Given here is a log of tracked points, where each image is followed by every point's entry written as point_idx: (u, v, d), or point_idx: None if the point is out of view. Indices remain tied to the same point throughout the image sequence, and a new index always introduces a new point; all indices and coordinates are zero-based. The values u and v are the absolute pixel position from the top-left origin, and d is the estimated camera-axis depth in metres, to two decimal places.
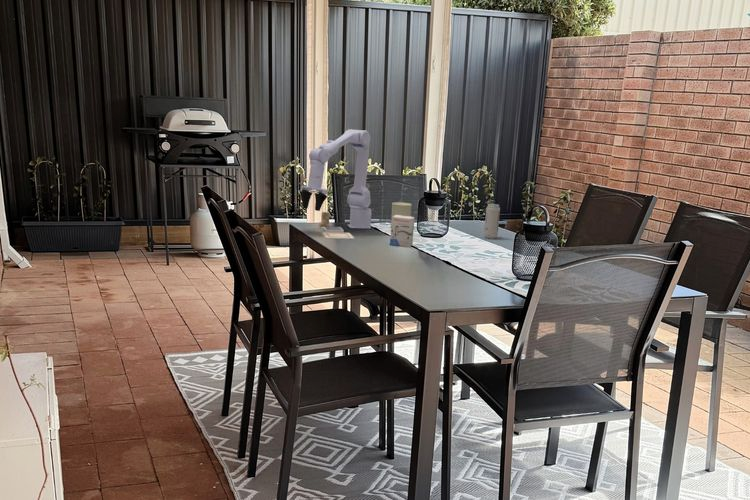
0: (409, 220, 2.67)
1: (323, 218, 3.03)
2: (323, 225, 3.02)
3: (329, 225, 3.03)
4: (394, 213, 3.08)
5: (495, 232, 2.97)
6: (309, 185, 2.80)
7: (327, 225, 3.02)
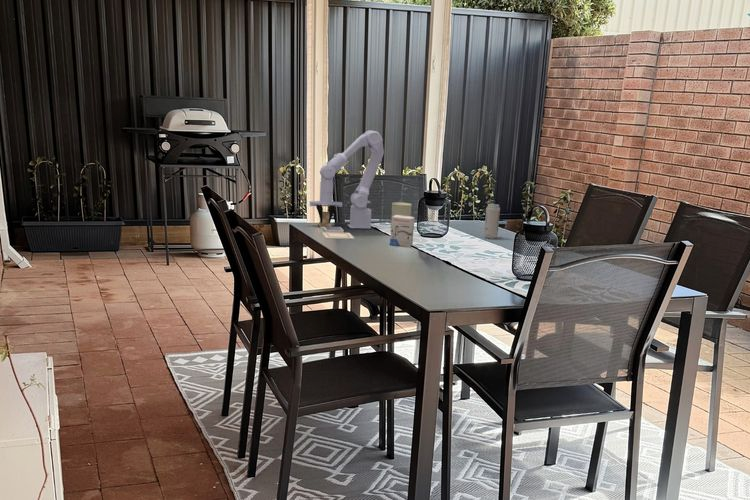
0: (409, 220, 2.67)
1: (323, 218, 3.03)
2: (323, 225, 3.02)
3: (329, 225, 3.03)
4: (394, 213, 3.08)
5: (495, 232, 2.97)
6: None
7: (327, 225, 3.02)
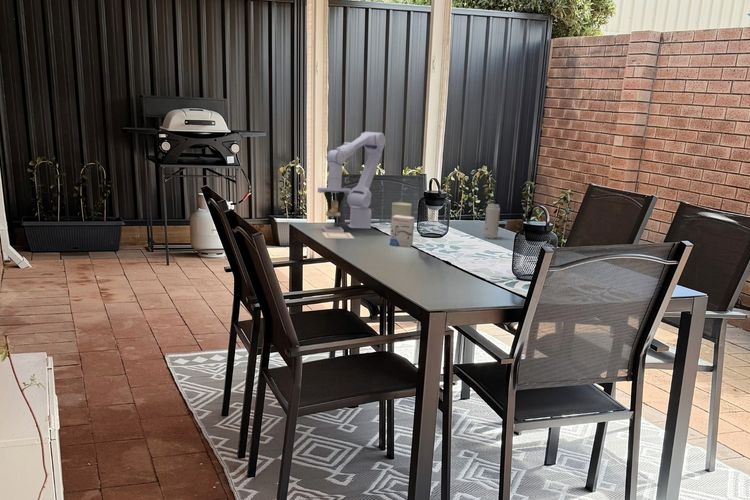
0: (409, 220, 2.67)
1: (332, 207, 2.93)
2: (332, 214, 2.92)
3: (338, 214, 2.93)
4: (394, 213, 3.08)
5: (495, 232, 2.97)
6: None
7: (336, 214, 2.93)
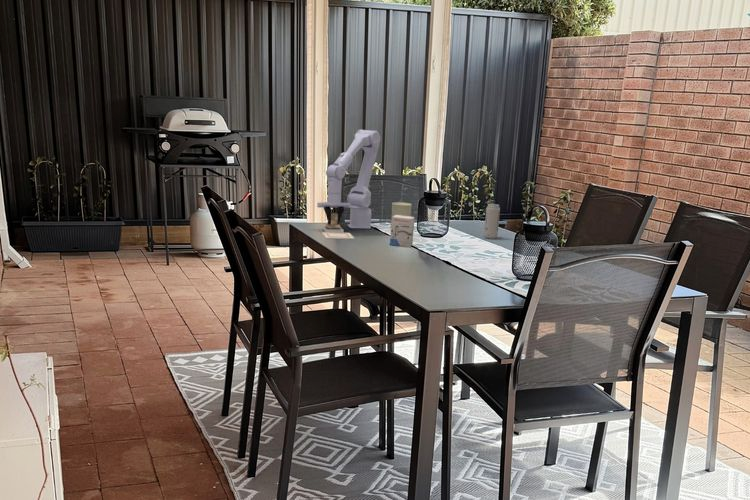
0: (409, 220, 2.67)
1: (331, 219, 2.93)
2: (332, 226, 2.93)
3: (338, 226, 2.94)
4: (394, 213, 3.08)
5: (495, 232, 2.97)
6: None
7: (336, 226, 2.94)
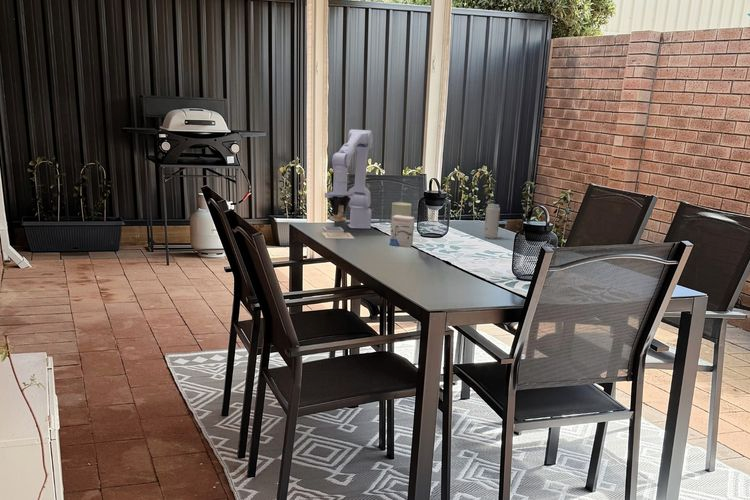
0: (409, 220, 2.67)
1: (338, 211, 2.80)
2: (339, 219, 2.80)
3: (344, 218, 2.82)
4: (394, 213, 3.08)
5: (495, 232, 2.97)
6: None
7: (343, 219, 2.81)
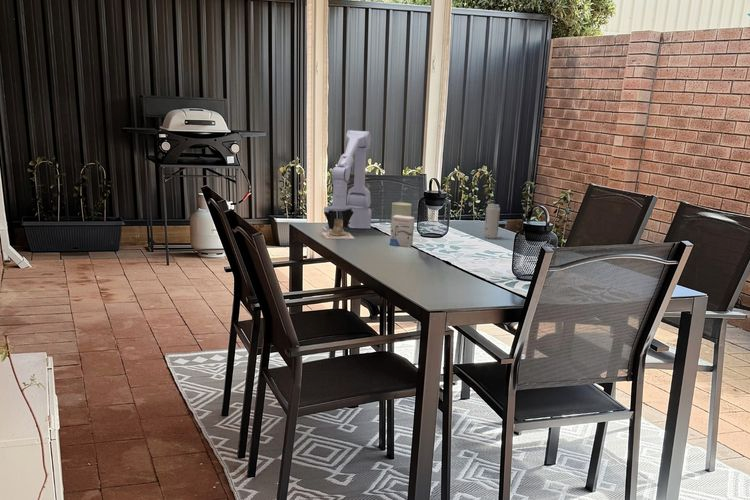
0: (409, 220, 2.67)
1: (337, 226, 2.82)
2: (339, 233, 2.81)
3: (344, 233, 2.83)
4: (394, 213, 3.08)
5: (495, 232, 2.97)
6: None
7: (342, 233, 2.83)
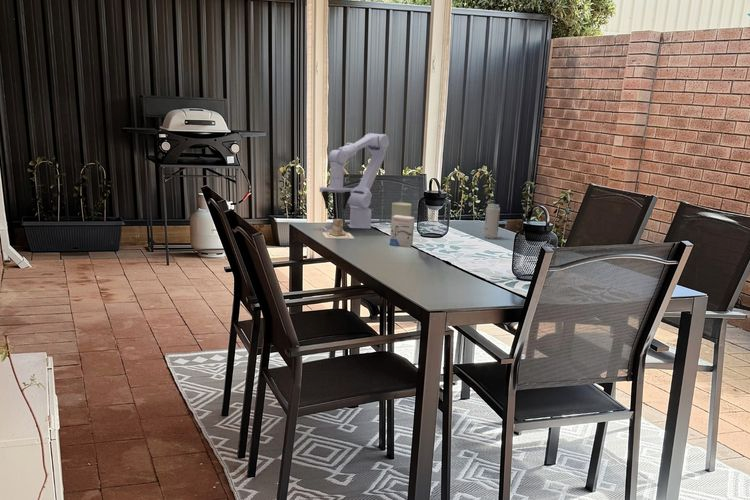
0: (409, 220, 2.67)
1: (337, 226, 2.82)
2: (339, 233, 2.81)
3: (344, 233, 2.83)
4: (394, 213, 3.08)
5: (495, 232, 2.97)
6: None
7: (342, 233, 2.83)
